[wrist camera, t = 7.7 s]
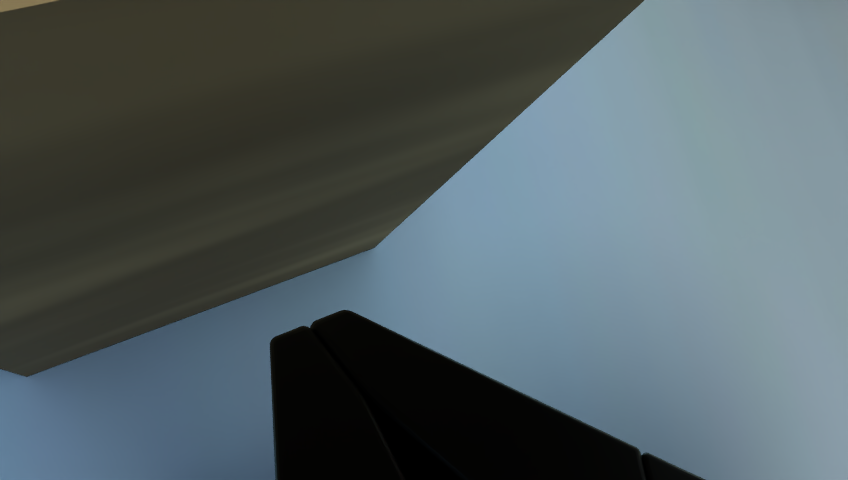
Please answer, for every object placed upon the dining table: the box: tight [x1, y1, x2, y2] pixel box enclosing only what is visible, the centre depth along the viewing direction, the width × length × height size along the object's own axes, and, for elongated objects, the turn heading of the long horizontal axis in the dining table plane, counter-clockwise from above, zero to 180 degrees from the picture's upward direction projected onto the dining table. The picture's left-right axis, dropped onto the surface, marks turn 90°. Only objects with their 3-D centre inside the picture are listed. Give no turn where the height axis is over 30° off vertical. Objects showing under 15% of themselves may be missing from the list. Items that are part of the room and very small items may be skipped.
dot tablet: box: [0, 0, 644, 377], centre depth 9 cm, size 3×7×12 cm, turn 114°
